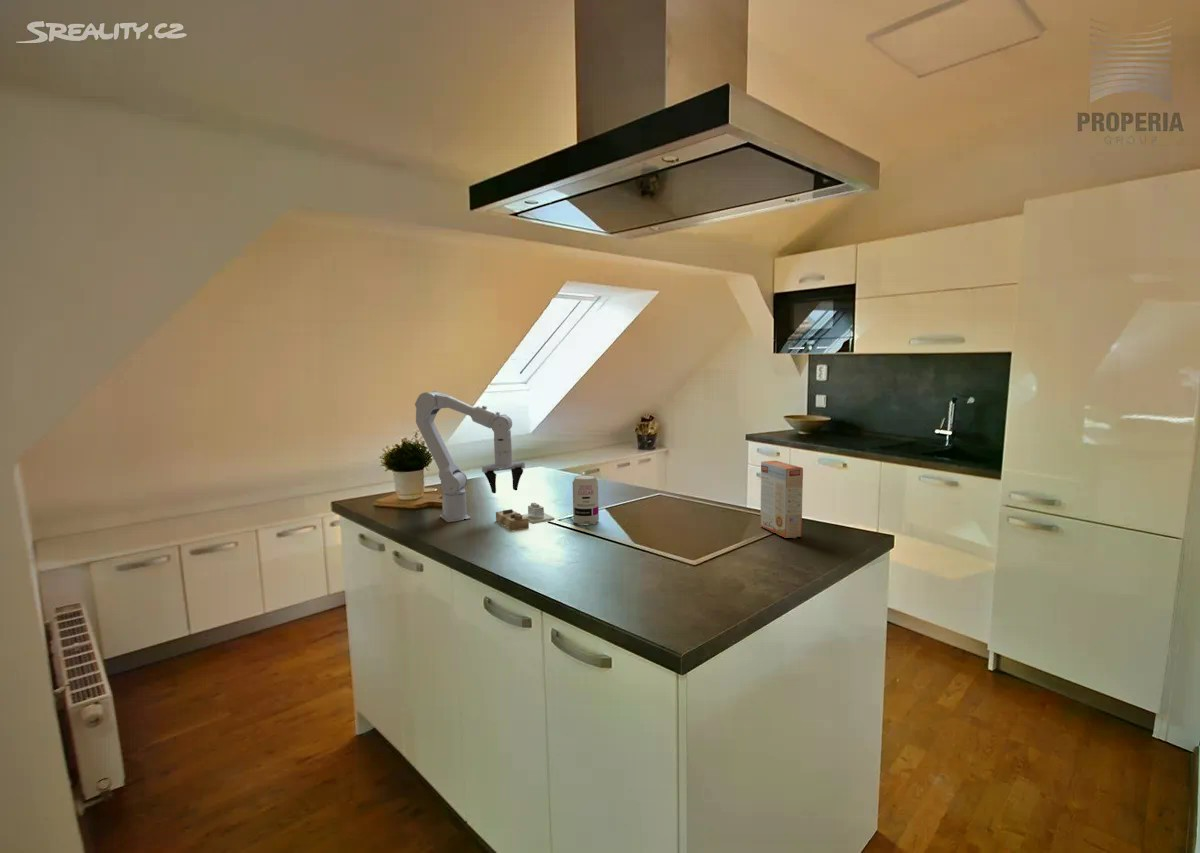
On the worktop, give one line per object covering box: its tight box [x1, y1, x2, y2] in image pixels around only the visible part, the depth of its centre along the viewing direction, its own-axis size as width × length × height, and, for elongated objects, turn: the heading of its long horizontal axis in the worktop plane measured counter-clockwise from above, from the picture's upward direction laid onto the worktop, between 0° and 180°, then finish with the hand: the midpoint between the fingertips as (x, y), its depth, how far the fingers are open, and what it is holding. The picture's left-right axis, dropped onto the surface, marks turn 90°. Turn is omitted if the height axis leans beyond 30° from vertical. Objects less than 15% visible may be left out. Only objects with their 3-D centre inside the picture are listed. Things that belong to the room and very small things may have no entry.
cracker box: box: [759, 460, 804, 538], centre depth 172 cm, size 14×6×21 cm, turn 14°
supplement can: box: [572, 474, 600, 525], centre depth 188 cm, size 8×8×15 cm
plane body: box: [495, 508, 530, 531], centre depth 188 cm, size 14×6×4 cm, turn 31°
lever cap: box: [527, 502, 545, 519], centre depth 195 cm, size 5×4×4 cm
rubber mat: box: [522, 512, 555, 524], centre depth 195 cm, size 10×8×1 cm
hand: (504, 491), depth 195 cm, fingers open, 7 cm apart
